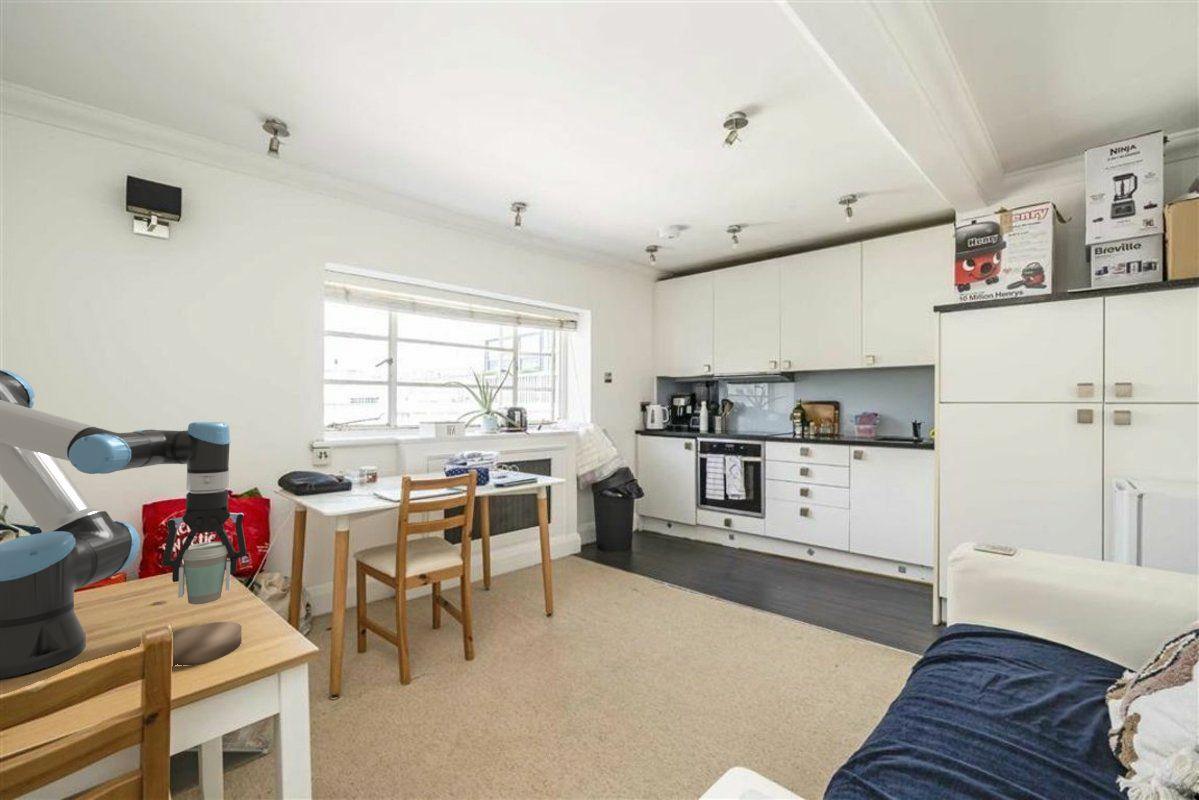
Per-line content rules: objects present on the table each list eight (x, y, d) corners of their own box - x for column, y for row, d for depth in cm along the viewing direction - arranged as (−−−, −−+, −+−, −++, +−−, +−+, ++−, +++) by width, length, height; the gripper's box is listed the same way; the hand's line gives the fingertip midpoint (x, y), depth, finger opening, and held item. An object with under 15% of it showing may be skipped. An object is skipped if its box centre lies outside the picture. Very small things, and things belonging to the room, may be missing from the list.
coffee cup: (221, 589, 121) (223, 539, 121) (233, 599, 115) (234, 546, 115) (175, 599, 114) (177, 546, 114) (185, 610, 109) (187, 554, 109)
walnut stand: (145, 671, 94) (145, 655, 94) (178, 640, 107) (178, 626, 107) (227, 660, 99) (228, 645, 99) (250, 632, 111) (250, 618, 111)
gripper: (144, 496, 106) (141, 606, 106) (262, 489, 117) (259, 588, 117) (151, 491, 112) (148, 595, 112) (262, 484, 124) (259, 579, 123)
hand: (205, 591), depth 115 cm, fingers closed on coffee cup, 8 cm apart
